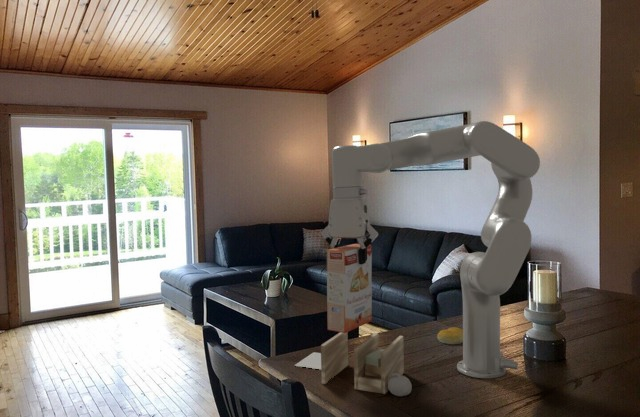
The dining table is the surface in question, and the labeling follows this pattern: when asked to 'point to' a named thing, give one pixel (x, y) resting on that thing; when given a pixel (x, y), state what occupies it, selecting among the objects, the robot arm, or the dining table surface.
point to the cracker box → (348, 288)
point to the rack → (362, 361)
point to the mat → (311, 361)
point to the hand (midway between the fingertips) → (349, 262)
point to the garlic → (399, 385)
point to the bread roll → (451, 336)
